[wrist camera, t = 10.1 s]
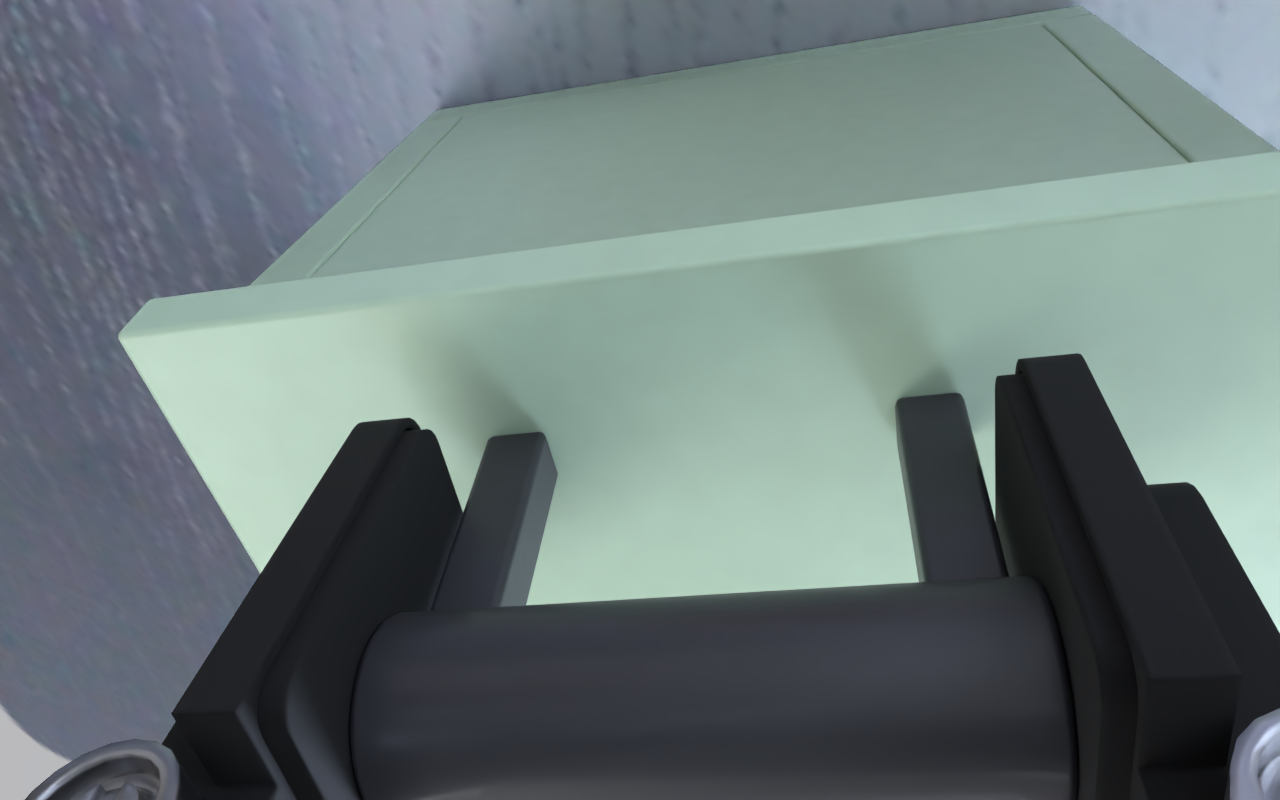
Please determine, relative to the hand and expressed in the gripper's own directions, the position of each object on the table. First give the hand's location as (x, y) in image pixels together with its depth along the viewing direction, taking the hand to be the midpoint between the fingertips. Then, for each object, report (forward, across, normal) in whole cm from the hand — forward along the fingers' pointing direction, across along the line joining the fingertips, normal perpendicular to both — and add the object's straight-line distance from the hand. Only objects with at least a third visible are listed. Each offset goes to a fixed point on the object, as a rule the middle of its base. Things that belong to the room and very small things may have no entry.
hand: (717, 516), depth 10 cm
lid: (+2, 0, +5) cm, 6 cm away
